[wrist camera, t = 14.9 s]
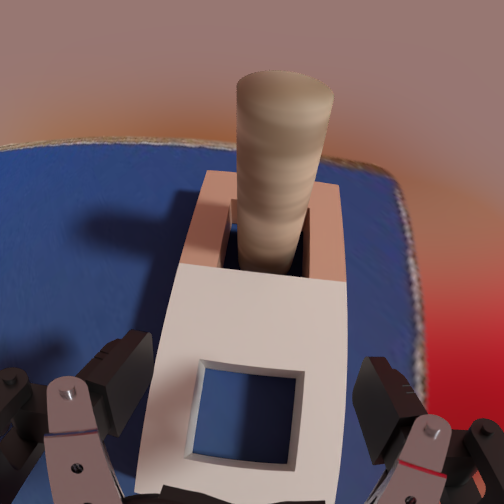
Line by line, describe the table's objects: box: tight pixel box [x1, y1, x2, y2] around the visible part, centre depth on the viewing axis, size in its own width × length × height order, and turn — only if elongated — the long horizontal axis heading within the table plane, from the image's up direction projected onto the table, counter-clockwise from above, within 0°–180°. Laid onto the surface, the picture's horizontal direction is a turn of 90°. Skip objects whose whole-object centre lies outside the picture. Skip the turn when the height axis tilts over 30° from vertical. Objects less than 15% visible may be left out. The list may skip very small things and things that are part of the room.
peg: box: [237, 70, 334, 275], centre depth 17 cm, size 4×4×14 cm
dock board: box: [134, 170, 347, 504], centre depth 18 cm, size 24×11×3 cm, turn 173°
